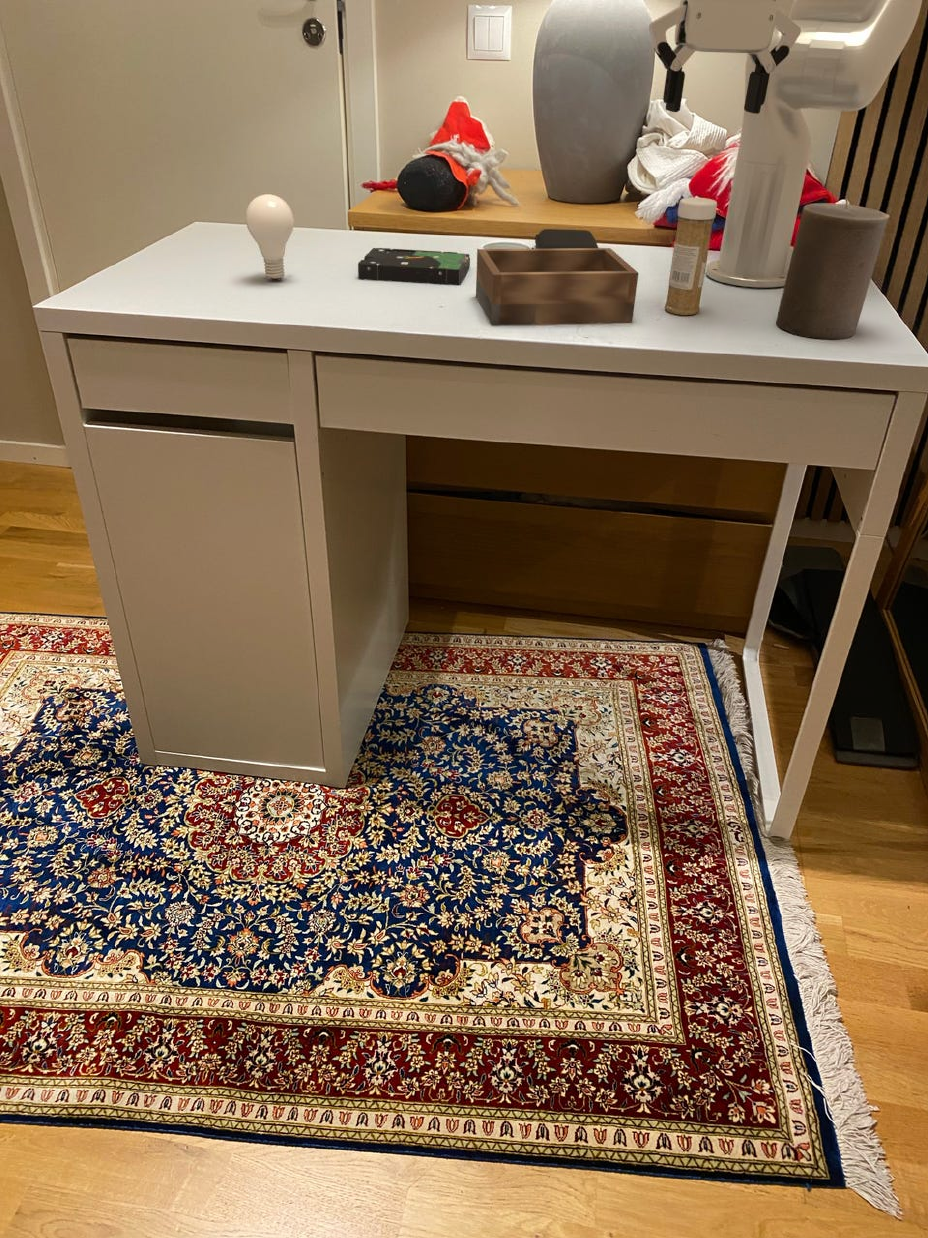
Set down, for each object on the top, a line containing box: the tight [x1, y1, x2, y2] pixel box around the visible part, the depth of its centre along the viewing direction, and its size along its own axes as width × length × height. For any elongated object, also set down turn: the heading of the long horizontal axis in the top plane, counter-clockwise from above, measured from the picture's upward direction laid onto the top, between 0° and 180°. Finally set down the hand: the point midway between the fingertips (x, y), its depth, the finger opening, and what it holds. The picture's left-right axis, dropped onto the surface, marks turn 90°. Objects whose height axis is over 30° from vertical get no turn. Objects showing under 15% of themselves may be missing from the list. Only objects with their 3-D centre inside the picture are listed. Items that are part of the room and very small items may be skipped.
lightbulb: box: [245, 193, 295, 282], centre depth 122 cm, size 6×6×11 cm
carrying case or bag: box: [530, 228, 599, 249], centre depth 141 cm, size 11×3×15 cm
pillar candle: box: [775, 198, 890, 340], centre depth 109 cm, size 10×10×15 cm
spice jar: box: [664, 197, 718, 316], centre depth 114 cm, size 5×5×14 cm
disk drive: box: [357, 247, 471, 286], centre depth 130 cm, size 10×3×15 cm
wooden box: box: [475, 247, 639, 326], centre depth 115 cm, size 18×13×6 cm
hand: (712, 111), depth 104 cm, fingers open, 9 cm apart
